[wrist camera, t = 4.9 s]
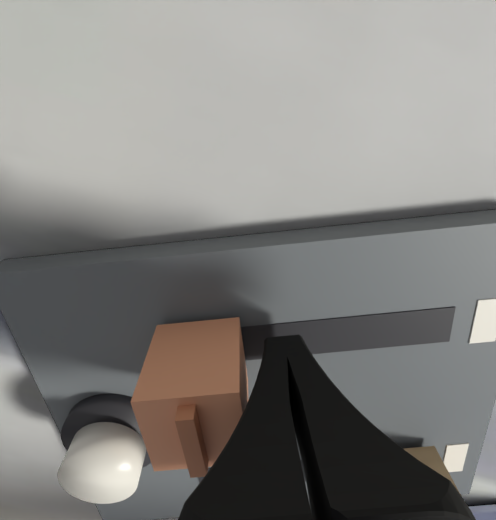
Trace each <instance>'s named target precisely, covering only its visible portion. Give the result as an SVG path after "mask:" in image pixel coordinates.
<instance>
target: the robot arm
mask: <svg viewBox="0 0 496 520" xmlns="http://www.w3.org/2000/svg"><path fill="white" fill-rule="evenodd" d="M295 434H296V435H295ZM296 438H297V440H296ZM297 442H298V445H297ZM298 447H299V451H300V455H301V459H302V463H303V467H304V472H305V477H306V482H307V489H308V495H307V490H306V485H305V480H304V476H303V471H302V466H301V461H300V456H299V451H298ZM308 496H309V499H308ZM309 502H310V504H309ZM178 520H496V504H493V505H481V506H468V505H467V504H466V502H465V501H464V499H463V498H462V496H461V495H460V494H459V492H458V491H457V489H456V488H455V487H454V485H453V484H452V482H451V481H450V480H448V479H447V478H445V477H444V476H442V475H441V474H439V473H438V472H436V471H434V470H433V469H431V468H430V467H428V466H427V465H425V464H424V463H422V462H421V461H419V460H418V459H416V458H415V457H414V456H412V455H411V454H409V453H408V452H407V451H405V450H404V449H403V448H401V447H400V446H399V445H398V444H396V443H395V442H394V441H393V440H391V439H390V438H389V437H388V436H387V435H385V434H384V433H383V432H382V431H380V430H379V429H378V428H377V427H376V426H374V425H373V424H372V423H371V422H370V421H369V420H368V419H367V418H366V417H365V416H364V415H363V414H362V413H361V412H360V411H358V410H357V409H356V408H355V407H354V406H353V405H352V403H351V402H350V401H349V400H348V399H347V398H346V397H345V396H344V395H343V394H342V393H341V391H340V390H339V389H338V388H337V387H336V386H335V385H334V383H333V382H332V381H331V380H330V378H329V377H328V376H327V375H326V373H325V372H324V371H323V369H322V368H321V367H320V365H319V364H318V362H317V361H316V360H315V358H314V357H313V355H312V354H311V352H310V350H309V349H308V347H307V345H306V344H305V342H304V340H303V338H302V336H300V335H288V336H278V337H267V338H266V339H265V340H264V351H263V356H262V361H261V365H260V369H259V372H258V375H257V379H256V382H255V385H254V387H253V390H252V393H251V395H250V398H249V400H248V403H247V405H246V407H245V410H244V412H243V414H242V416H241V418H240V420H239V422H238V424H237V426H236V428H235V430H234V431H233V433H232V435H231V437H230V439H229V440H228V442H227V444H226V446H225V447H224V449H223V450H222V452H221V453H220V455H219V456H218V458H217V459H216V461H215V462H214V464H213V465H212V467H211V468H210V470H209V471H208V473H207V474H206V475H205V477H204V478H203V479H202V481H201V482H200V483H199V485H198V486H197V487H196V488H195V490H194V491H193V492H192V493H191V495H190V496H189V497H188V499H187V500H186V501H185V503H184V505H183V508H182V510H181V513H180V516H179V519H178Z"/></svg>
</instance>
